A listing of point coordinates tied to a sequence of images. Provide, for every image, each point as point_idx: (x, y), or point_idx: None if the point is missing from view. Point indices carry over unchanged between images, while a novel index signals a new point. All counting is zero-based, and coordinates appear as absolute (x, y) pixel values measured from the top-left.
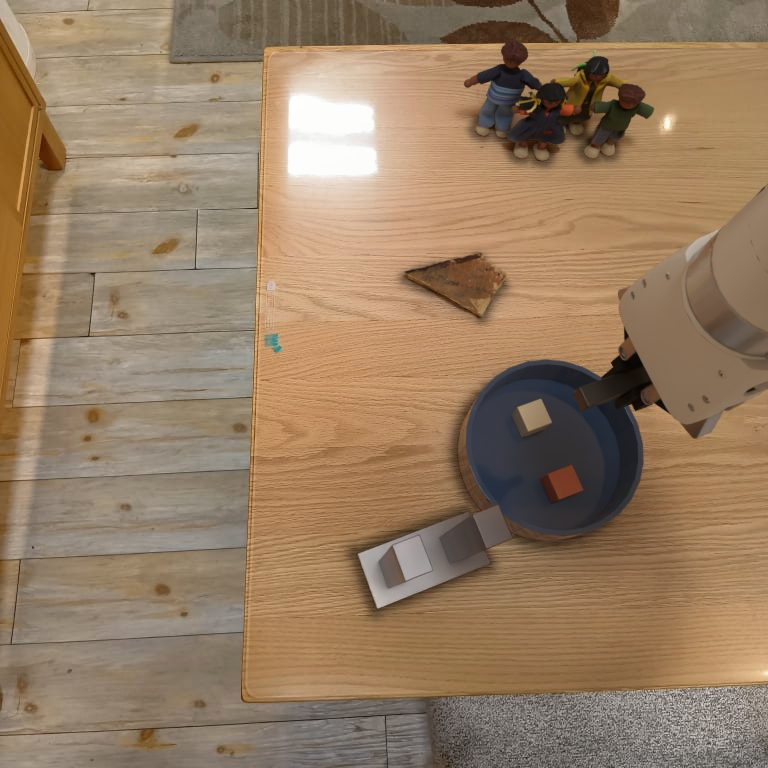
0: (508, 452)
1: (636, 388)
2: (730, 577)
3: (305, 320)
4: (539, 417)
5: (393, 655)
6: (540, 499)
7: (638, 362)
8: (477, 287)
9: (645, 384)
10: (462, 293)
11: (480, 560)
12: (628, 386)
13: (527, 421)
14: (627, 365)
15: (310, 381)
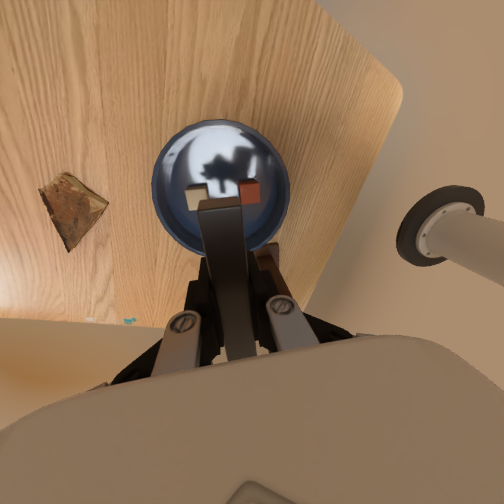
0: None
1: (257, 339)
2: (348, 76)
3: (114, 306)
4: (199, 197)
5: (298, 291)
6: (252, 204)
7: (216, 330)
8: (78, 204)
9: (256, 328)
10: (85, 217)
11: (275, 249)
12: (247, 332)
13: None
14: (218, 349)
15: (155, 307)
